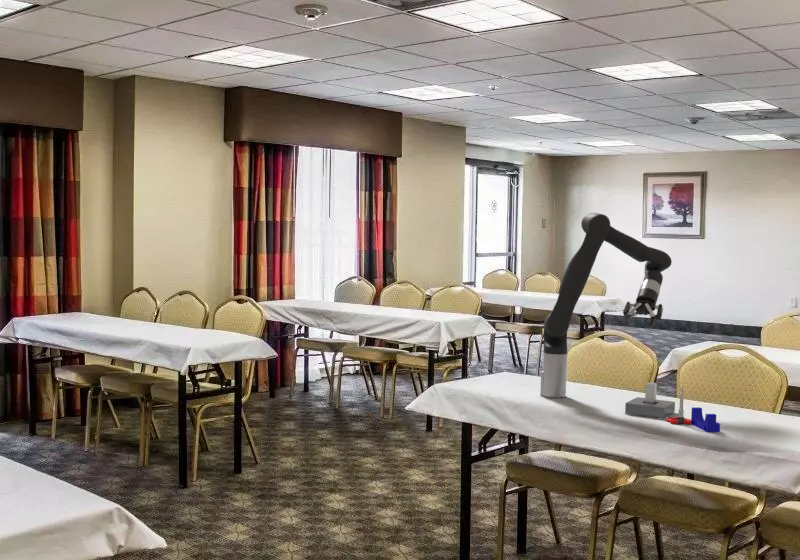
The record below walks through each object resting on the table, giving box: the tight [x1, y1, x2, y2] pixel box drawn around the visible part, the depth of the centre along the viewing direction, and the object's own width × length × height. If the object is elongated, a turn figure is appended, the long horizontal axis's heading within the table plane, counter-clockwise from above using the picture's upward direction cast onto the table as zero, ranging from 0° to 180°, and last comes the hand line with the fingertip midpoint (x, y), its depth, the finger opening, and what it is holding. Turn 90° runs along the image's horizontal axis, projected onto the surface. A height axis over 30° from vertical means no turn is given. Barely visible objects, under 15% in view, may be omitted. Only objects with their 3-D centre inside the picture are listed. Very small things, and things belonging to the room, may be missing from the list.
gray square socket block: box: [624, 396, 676, 420], centre depth 317 cm, size 14×14×4 cm
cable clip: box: [690, 406, 721, 433], centre depth 295 cm, size 12×4×6 cm, turn 6°
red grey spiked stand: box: [665, 386, 692, 426], centre depth 304 cm, size 8×13×9 cm
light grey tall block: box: [644, 381, 658, 404], centre depth 317 cm, size 3×3×11 cm
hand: (638, 325), depth 330 cm, fingers open, 8 cm apart
